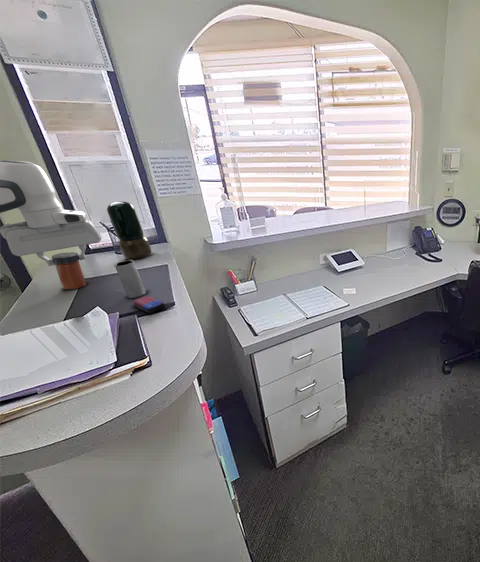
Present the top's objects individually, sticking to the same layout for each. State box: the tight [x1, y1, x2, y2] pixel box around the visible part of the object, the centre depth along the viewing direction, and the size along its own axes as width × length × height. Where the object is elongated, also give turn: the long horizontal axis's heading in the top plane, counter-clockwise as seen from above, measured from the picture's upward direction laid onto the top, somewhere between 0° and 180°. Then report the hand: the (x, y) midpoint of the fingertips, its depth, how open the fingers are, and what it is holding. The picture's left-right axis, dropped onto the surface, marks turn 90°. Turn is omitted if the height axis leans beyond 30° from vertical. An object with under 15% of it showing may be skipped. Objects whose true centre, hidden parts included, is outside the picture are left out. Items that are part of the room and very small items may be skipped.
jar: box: [54, 259, 87, 290], centre depth 98 cm, size 6×6×10 cm
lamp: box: [106, 200, 153, 260], centre depth 121 cm, size 10×10×22 cm
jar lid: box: [51, 251, 80, 264], centre depth 96 cm, size 6×6×2 cm
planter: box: [114, 259, 147, 299], centre depth 90 cm, size 4×4×10 cm
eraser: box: [133, 295, 165, 315], centre depth 84 cm, size 11×4×2 cm, turn 57°
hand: (68, 262), depth 97 cm, fingers closed on jar lid, 6 cm apart
